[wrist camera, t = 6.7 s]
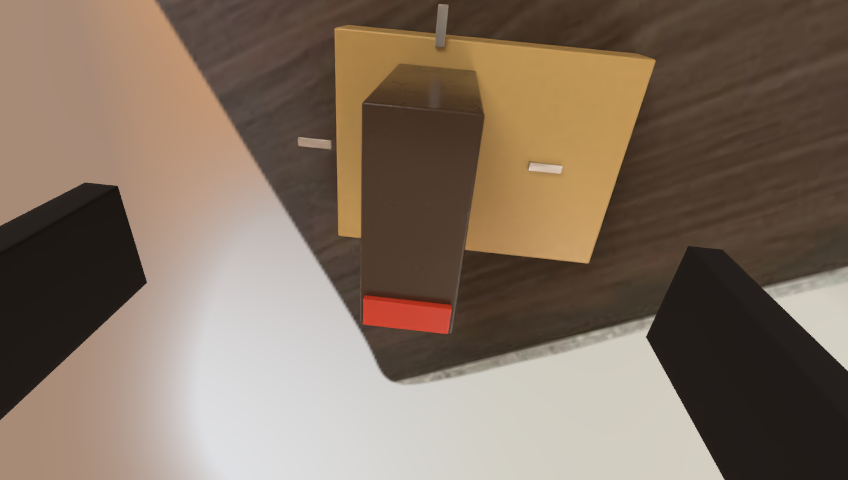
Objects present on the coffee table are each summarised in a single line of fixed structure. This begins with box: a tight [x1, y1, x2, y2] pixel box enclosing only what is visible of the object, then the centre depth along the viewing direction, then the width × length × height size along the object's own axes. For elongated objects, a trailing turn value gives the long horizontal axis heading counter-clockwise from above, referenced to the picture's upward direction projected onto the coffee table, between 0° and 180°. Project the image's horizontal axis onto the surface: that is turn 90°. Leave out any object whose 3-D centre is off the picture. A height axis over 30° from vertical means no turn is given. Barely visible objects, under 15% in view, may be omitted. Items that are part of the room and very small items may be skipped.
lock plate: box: [298, 4, 655, 263], centre depth 19 cm, size 14×11×2 cm
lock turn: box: [360, 64, 485, 334], centre depth 15 cm, size 7×3×7 cm, turn 175°
